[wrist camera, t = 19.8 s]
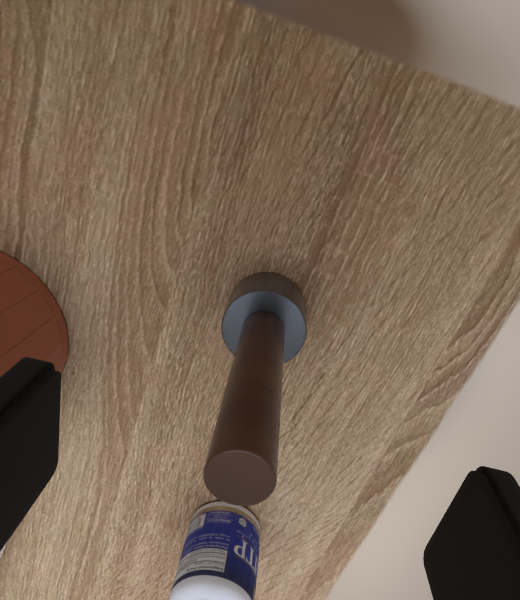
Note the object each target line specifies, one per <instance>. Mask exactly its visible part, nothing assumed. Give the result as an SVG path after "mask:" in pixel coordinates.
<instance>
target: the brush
mask: <svg viewBox="0 0 520 600" xmlns="http://www.w3.org/2000/svg"><path fill="white" fill-rule="evenodd" d="M306 332H307V328H306V308H305V300H304V297H303V295H302V293H301V291H300V289H299V288H298V287H297V285H296V284H295V283H294V282H292V281H291V280H290V279H288V278H287V277H285V276H282V275H280V274H277V273H271V272H263V273H257V274H253V275H251V276H249V277H247V278H245V279H244V280H242V281H241V282H240V283H239V284H238V285H237V286H236V288H235V289H234V291H233V293H232V295H231V298H230V301H229V303H228V306H227V308H226V311H225V313H224V316H223V319H222V336H223V339H224V342H225V344H226V346H227V347H228V349H229V350H230V351H231V353H232V354H233V355H234V360H233V364H232V367H231V371H230V375H229V378H228V382H227V386H226V389H225V393H224V397H223V400H222V404H221V408H220V411H219V415H218V419H217V422H216V426H215V430H214V433H213V437H212V441H211V444H210V448H209V452H208V455H207V459H206V462H205V466H204V471H203V477H204V482H205V484H206V486H207V488H208V490H209V491H210V492H211V493H212V494H213V495H214V496H215V497H216V498H218V499H219V500H221V501H223V502H225V503H228V504H231V505H236V506H250V505H255V504H258V503H260V502H262V501H264V500H265V499H267V498H268V497H269V496H270V495H271V494H272V492H273V491H274V489H275V486H276V481H277V463H278V446H279V428H280V411H281V393H282V376H283V364H284V363H286V362H288V361H290V360H291V359H292V358H294V357H295V356H296V355H297V354H298V352H299V351H300V350H301V348H302V346H303V345H304V342H305V339H306Z"/></svg>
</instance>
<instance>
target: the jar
mask: <svg viewBox="0 0 520 600" xmlns="http://www.w3.org/2000/svg"><path fill="white" fill-rule="evenodd" d="M67 354H68V333H67V327H66V324H65V320H64V317H63V315H62V312H61V310H60V308H59V306H58V304H57V302H56V301H55V299H54V297H53V295H52V294H51V293H50V291H49V290H48V289H47V287H46V286H45V285H44V284H43V283H42V282H41V281H40V279H39V278H38V277H37V276H36V275H35V274H33V273H32V272H31V271H30V270H29V269H28V268H27V267H25V266H24V265H22V264H21V263H20V262H18V261H17V260H15V259H14V258H12V257H10V256H8V255H6V254H5V253H2V252H0V377H1V376H2V375H4V374H5V373H6V372H7V371H8V370H9V369H11V368H12V367H13V366H14V365H15V364H16V363H18V362H19V361H20V360H21V359H23V358H24V357H30V358H34V359H38V360H43V361H47V362H51V363H53V364H54V366H55V371H59V372H60V373H61V372H62V370H63V368H64V366H65V363H66V359H67Z"/></svg>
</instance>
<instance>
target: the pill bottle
mask: <svg viewBox="0 0 520 600" xmlns="http://www.w3.org/2000/svg"><path fill="white" fill-rule="evenodd" d="M259 546H260V526H259V523H258V521H257V519H256V518H255V516H254V515H253V514H252V513H251V512H250V511H249V510H247V509H246V508H244V507H242V506H236V505H231V504H228V503H225V502H223V501H220V502H212V503H209V504H206V505H204V506H202V507H201V508H199V509H198V510H197V511H196V512H195V513H194V515H193V517H192V519H191V522H190V525H189V528H188V532H187V536H186V540H185V544H184V547H183V551H182V555H181V558H180V562H179V566H178V569H177V573H176V576H175V580H174V583H173V587H172V590H171V594H170V599H169V600H255V590H256V580H257V569H258V557H259Z"/></svg>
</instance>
